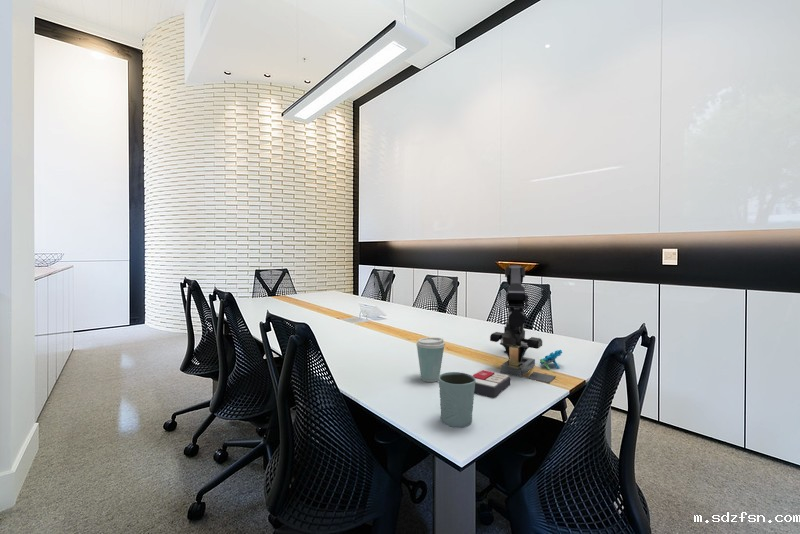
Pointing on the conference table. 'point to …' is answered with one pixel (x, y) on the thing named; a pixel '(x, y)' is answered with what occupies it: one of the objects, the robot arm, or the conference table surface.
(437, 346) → the disposable coffee cup
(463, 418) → the green tumbler cup
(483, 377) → the calculator
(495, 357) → the conference table surface
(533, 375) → the rubber pad
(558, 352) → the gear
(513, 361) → the brass peg
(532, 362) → the grey cinder block
